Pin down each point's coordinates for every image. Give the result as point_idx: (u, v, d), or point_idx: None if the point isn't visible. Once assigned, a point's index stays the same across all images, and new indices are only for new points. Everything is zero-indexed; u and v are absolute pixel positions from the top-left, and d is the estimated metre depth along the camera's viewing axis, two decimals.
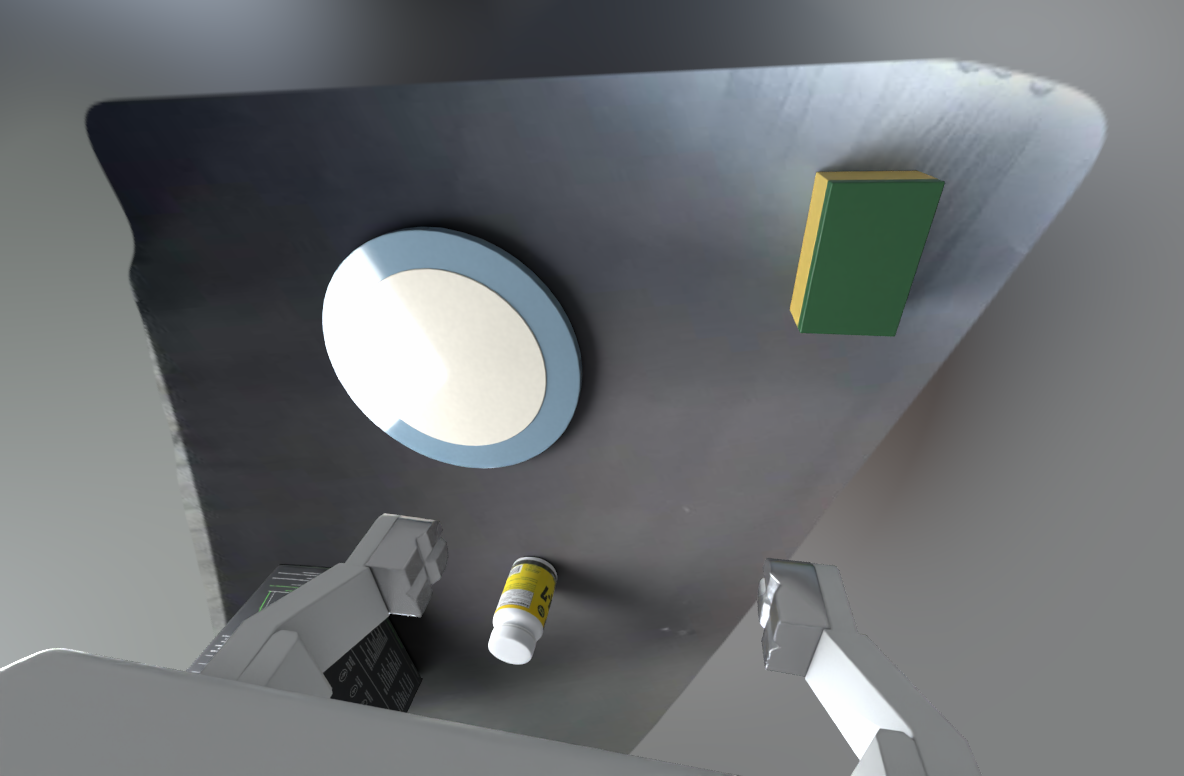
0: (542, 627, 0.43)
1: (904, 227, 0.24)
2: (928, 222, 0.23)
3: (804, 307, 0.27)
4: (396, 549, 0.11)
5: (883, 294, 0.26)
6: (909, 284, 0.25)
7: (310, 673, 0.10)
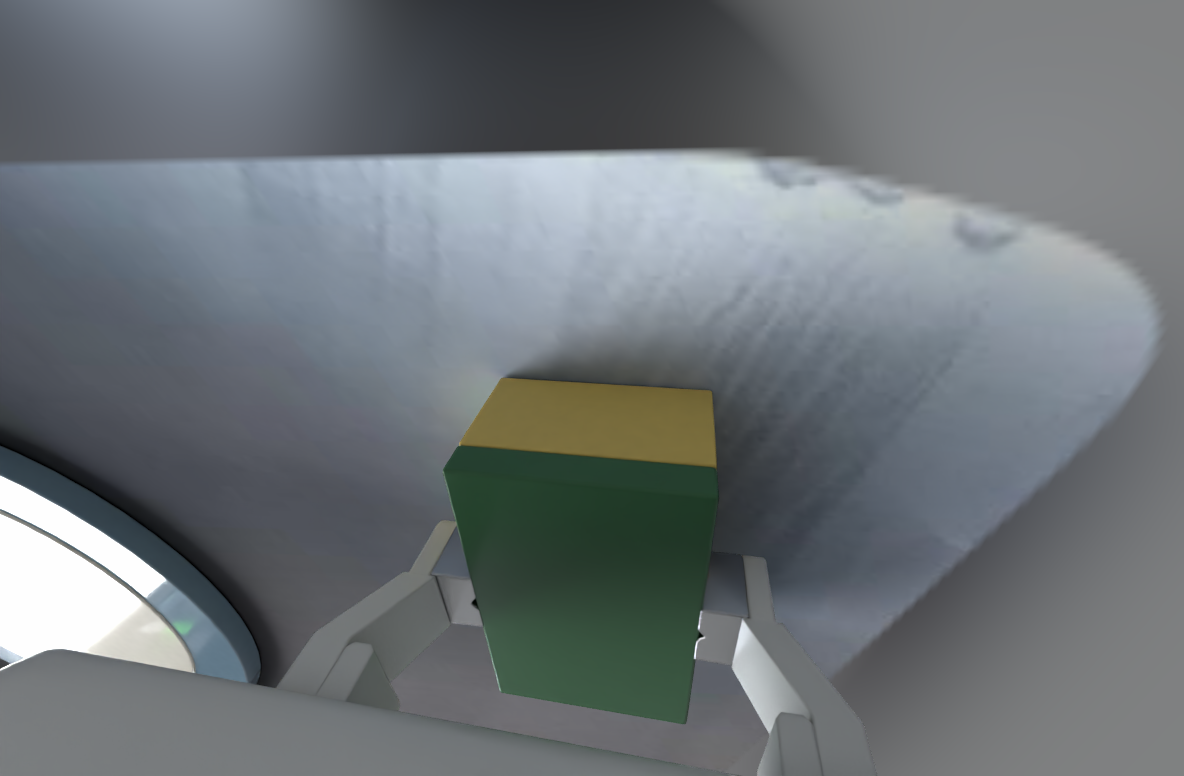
0: None
1: (645, 570, 0.09)
2: (698, 568, 0.09)
3: None
4: (460, 558, 0.11)
5: (639, 666, 0.11)
6: (689, 660, 0.11)
7: (382, 686, 0.09)
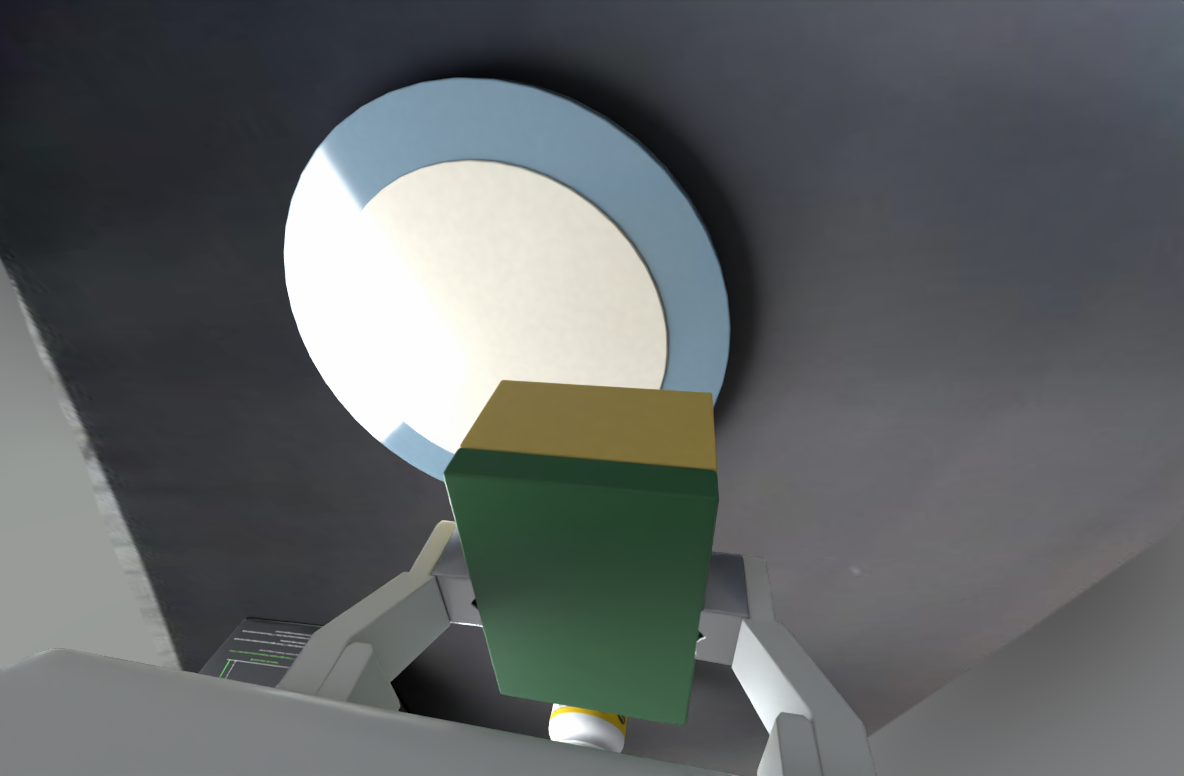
0: (623, 740, 0.29)
1: (645, 572, 0.09)
2: (698, 571, 0.09)
3: None
4: (460, 557, 0.11)
5: (639, 668, 0.11)
6: (689, 662, 0.11)
7: (382, 686, 0.09)
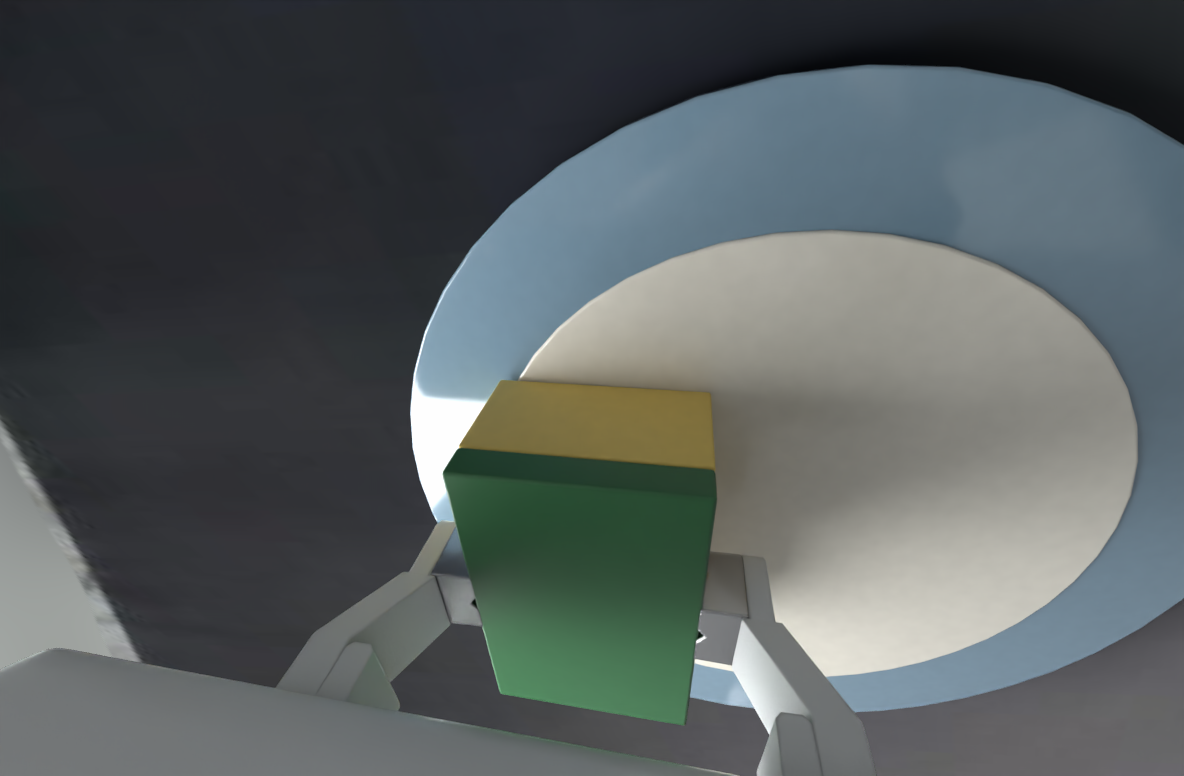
0: None
1: (644, 571, 0.09)
2: (697, 570, 0.09)
3: None
4: (460, 557, 0.11)
5: (639, 667, 0.11)
6: (688, 661, 0.11)
7: (382, 686, 0.09)
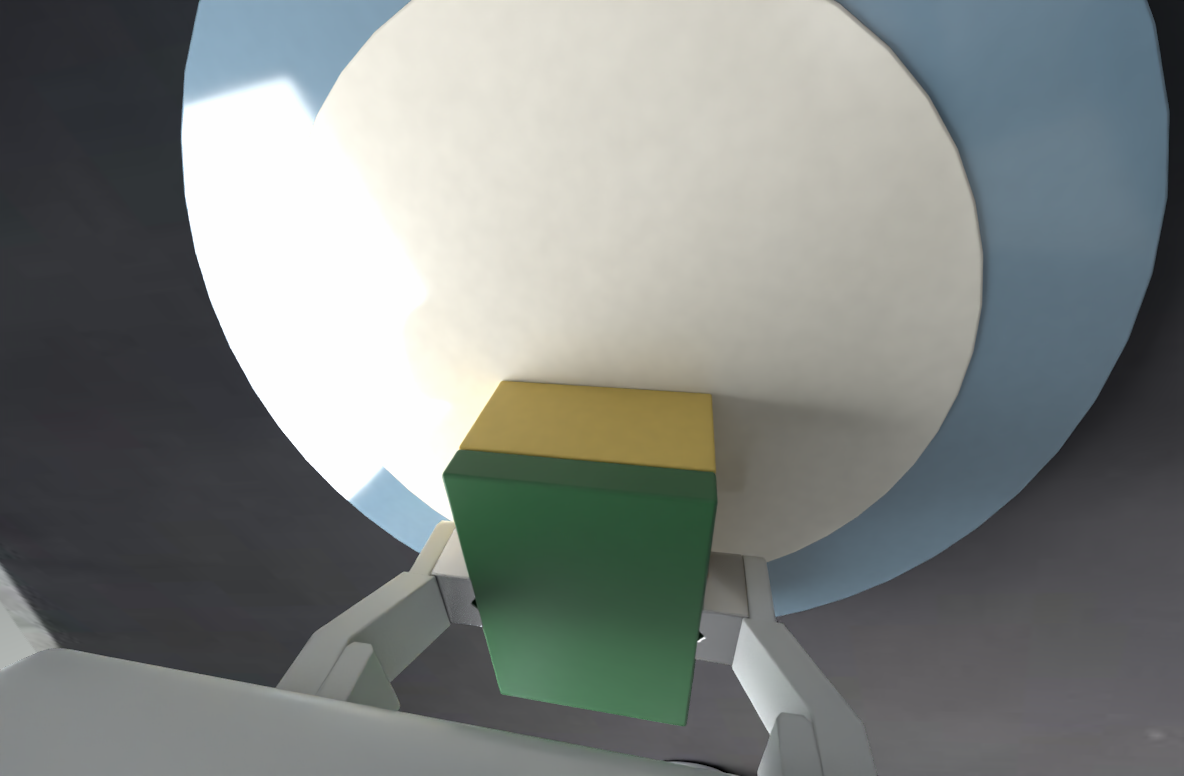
0: None
1: (645, 574, 0.09)
2: (697, 573, 0.09)
3: None
4: (460, 557, 0.11)
5: (639, 669, 0.11)
6: (689, 663, 0.11)
7: (382, 686, 0.09)
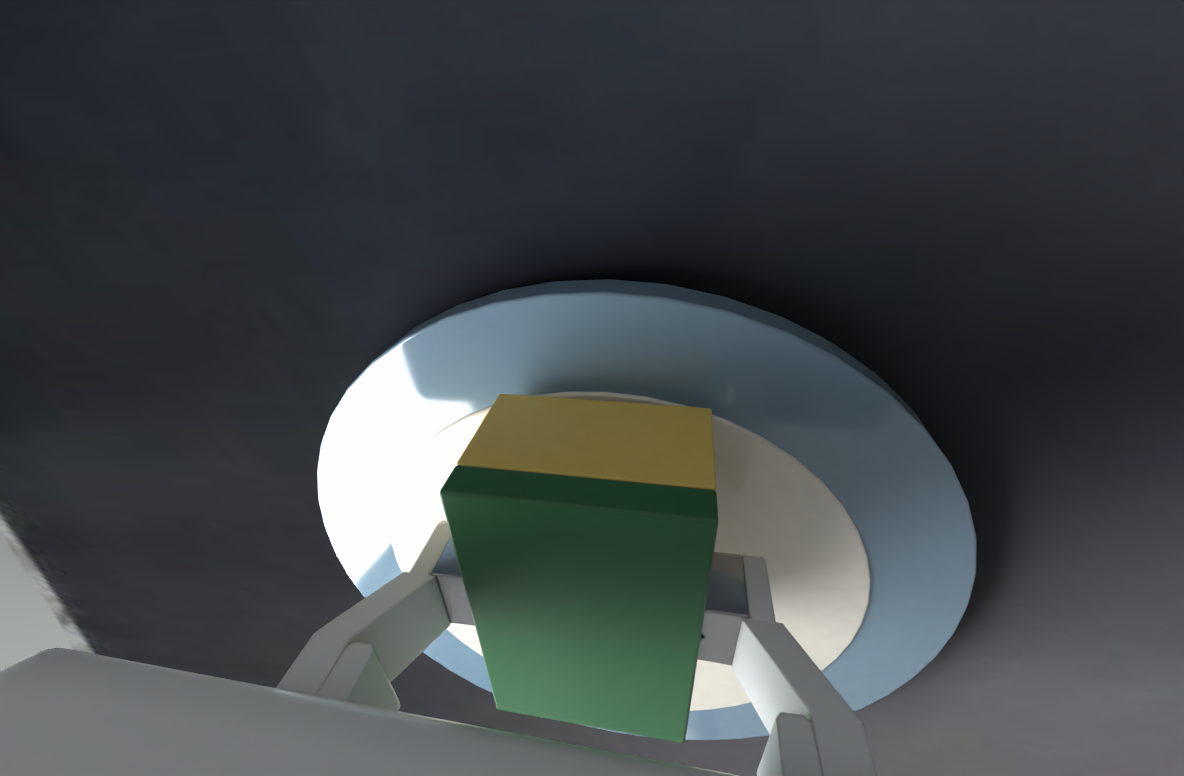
0: None
1: (644, 591, 0.09)
2: (697, 591, 0.09)
3: None
4: None
5: (637, 686, 0.11)
6: (688, 680, 0.11)
7: (382, 686, 0.09)
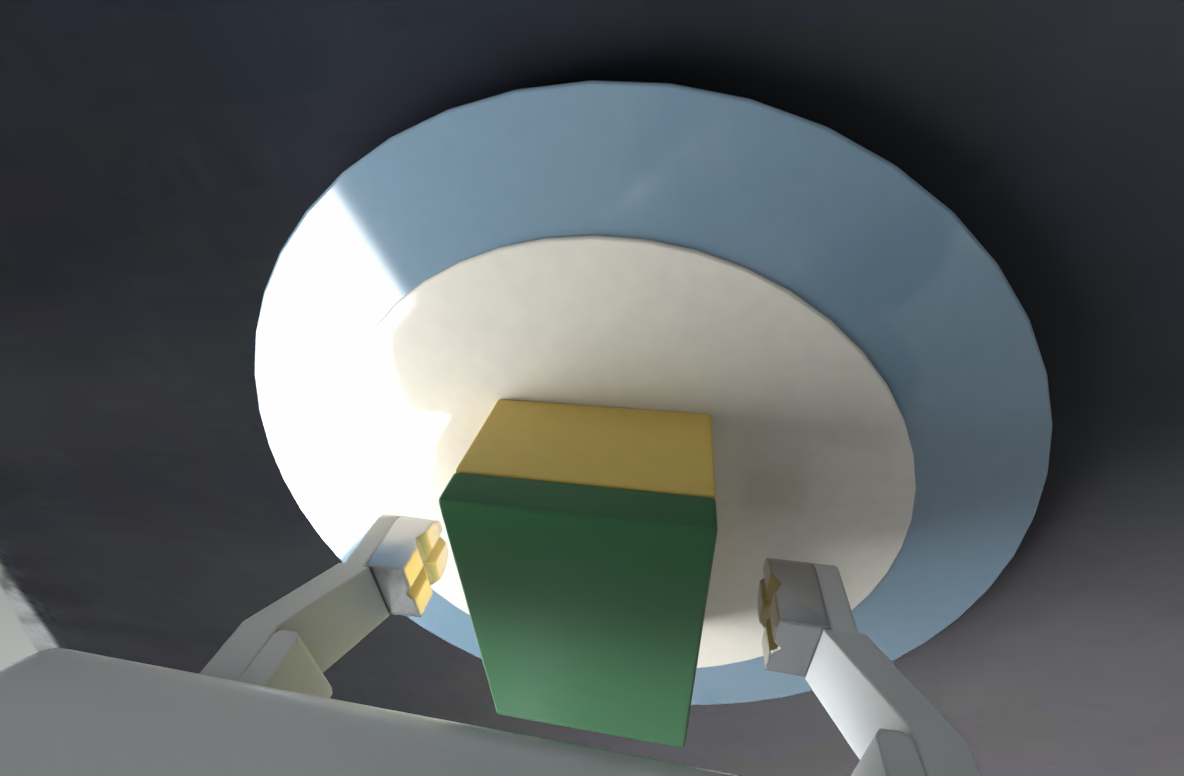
0: None
1: (643, 599, 0.09)
2: (696, 599, 0.09)
3: None
4: (396, 549, 0.11)
5: (637, 691, 0.11)
6: (687, 686, 0.11)
7: (310, 673, 0.10)
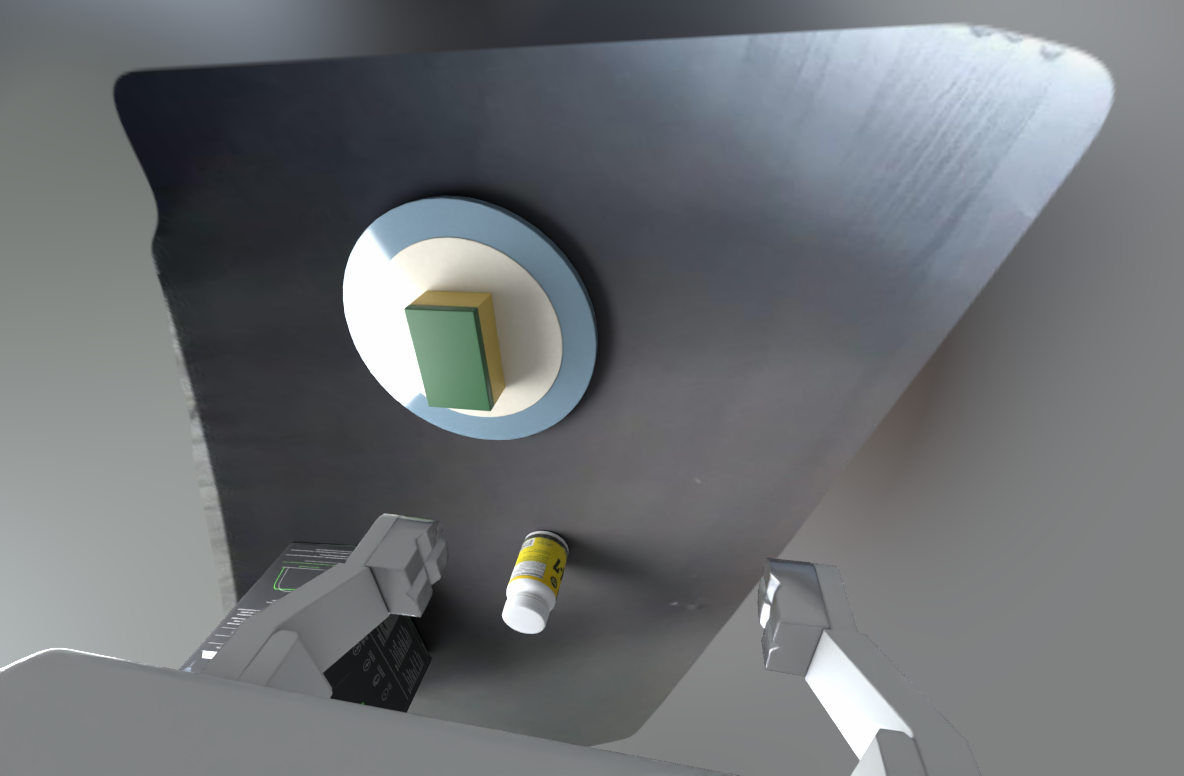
0: (555, 598, 0.44)
1: (462, 339, 0.33)
2: (475, 336, 0.33)
3: None
4: (396, 549, 0.11)
5: (469, 382, 0.35)
6: (483, 376, 0.34)
7: (310, 673, 0.10)
